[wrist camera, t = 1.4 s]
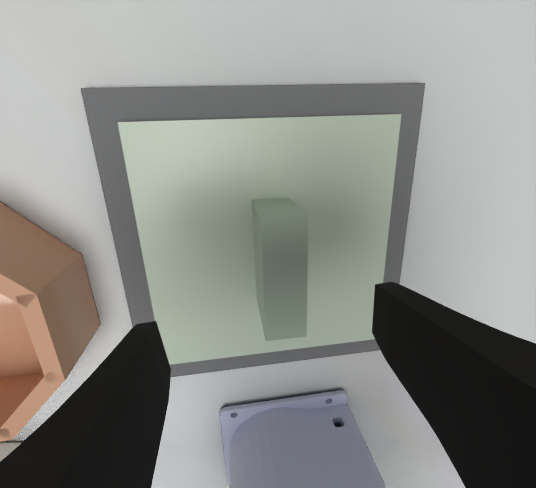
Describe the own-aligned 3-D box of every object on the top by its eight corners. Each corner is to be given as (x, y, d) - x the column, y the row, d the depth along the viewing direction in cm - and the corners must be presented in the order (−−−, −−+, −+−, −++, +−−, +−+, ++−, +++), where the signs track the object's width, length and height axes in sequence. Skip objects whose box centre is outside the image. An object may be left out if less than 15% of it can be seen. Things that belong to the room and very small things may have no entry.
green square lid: (395, 114, 16) (457, 108, 12) (372, 333, 21) (411, 384, 17) (121, 122, 15) (80, 118, 10) (164, 358, 19) (149, 422, 15)
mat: (419, 84, 16) (425, 83, 16) (387, 344, 22) (391, 348, 22) (85, 89, 14) (80, 88, 14) (146, 374, 20) (144, 380, 20)
